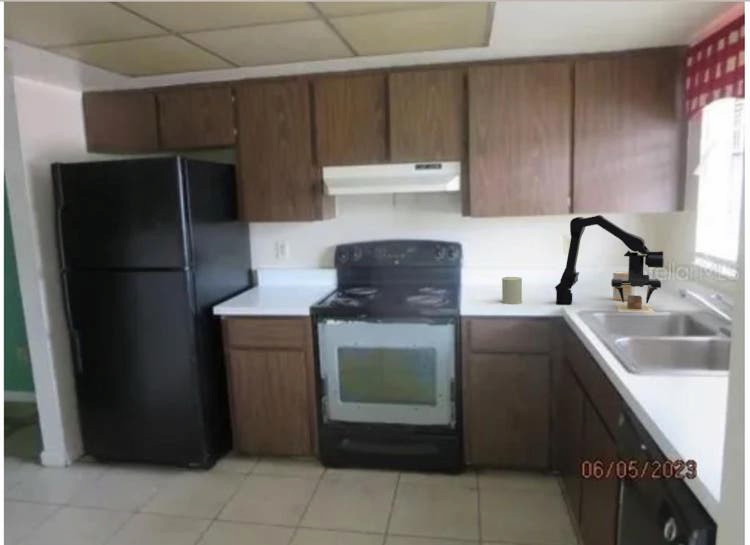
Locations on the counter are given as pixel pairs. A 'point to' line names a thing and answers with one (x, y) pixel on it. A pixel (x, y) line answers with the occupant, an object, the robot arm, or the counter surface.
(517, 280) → the can
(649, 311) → the letter
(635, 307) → the walnut cube
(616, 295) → the supplement box
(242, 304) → the counter surface
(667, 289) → the counter surface
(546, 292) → the counter surface
